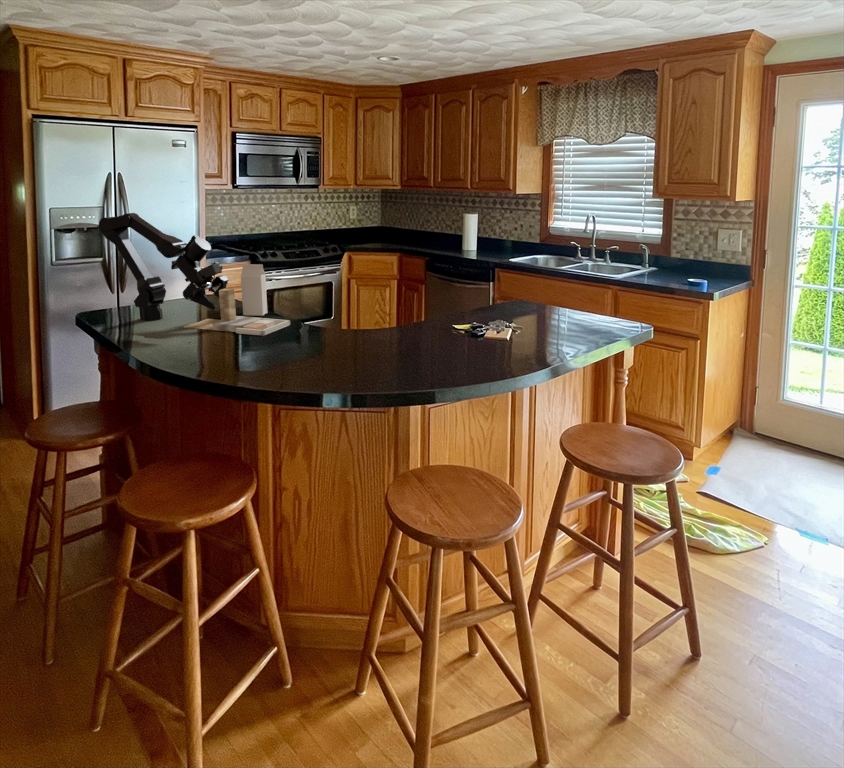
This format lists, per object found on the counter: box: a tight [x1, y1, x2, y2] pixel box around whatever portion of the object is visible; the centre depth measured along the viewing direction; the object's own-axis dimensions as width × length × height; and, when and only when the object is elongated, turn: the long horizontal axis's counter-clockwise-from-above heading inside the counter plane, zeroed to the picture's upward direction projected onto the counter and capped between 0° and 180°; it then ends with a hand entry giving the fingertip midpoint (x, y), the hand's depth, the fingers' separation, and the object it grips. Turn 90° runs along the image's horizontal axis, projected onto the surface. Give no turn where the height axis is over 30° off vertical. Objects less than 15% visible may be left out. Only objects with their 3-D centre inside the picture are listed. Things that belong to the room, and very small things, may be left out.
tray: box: [235, 317, 291, 336], centre depth 245 cm, size 10×17×3 cm, turn 160°
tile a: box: [254, 320, 276, 329], centre depth 248 cm, size 5×5×2 cm
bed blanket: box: [213, 288, 264, 332], centre depth 246 cm, size 11×13×12 cm
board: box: [183, 318, 236, 333], centre depth 250 cm, size 21×14×2 cm, turn 70°
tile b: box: [243, 323, 265, 330], centre depth 243 cm, size 5×5×2 cm
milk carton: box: [240, 263, 268, 317], centre depth 267 cm, size 7×7×19 cm
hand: (222, 306), depth 248 cm, fingers open, 9 cm apart
